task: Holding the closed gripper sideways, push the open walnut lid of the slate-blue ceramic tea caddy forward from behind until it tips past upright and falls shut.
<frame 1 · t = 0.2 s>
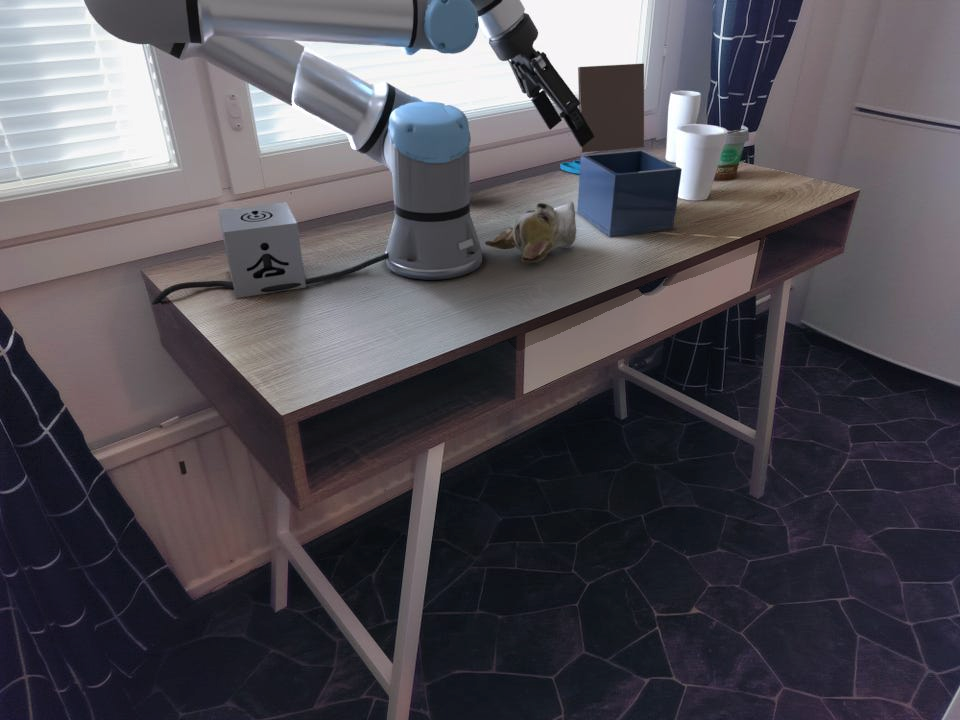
hand: (570, 132, 125), 15 cm above the table, tool tilted 35°, fingers open, 13 cm apart
caddy: (623, 220, 131), on the table
icon cube: (267, 280, 108), on the table
caddy lid: (611, 108, 128), point 18 cm above the table, hinge at 103.0°
foam cup: (691, 196, 144), on the table
food container: (721, 178, 154), on the table
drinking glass: (676, 161, 166), on the table
scissors: (598, 176, 155), on the table
ceramic sculpture: (537, 254, 117), on the table
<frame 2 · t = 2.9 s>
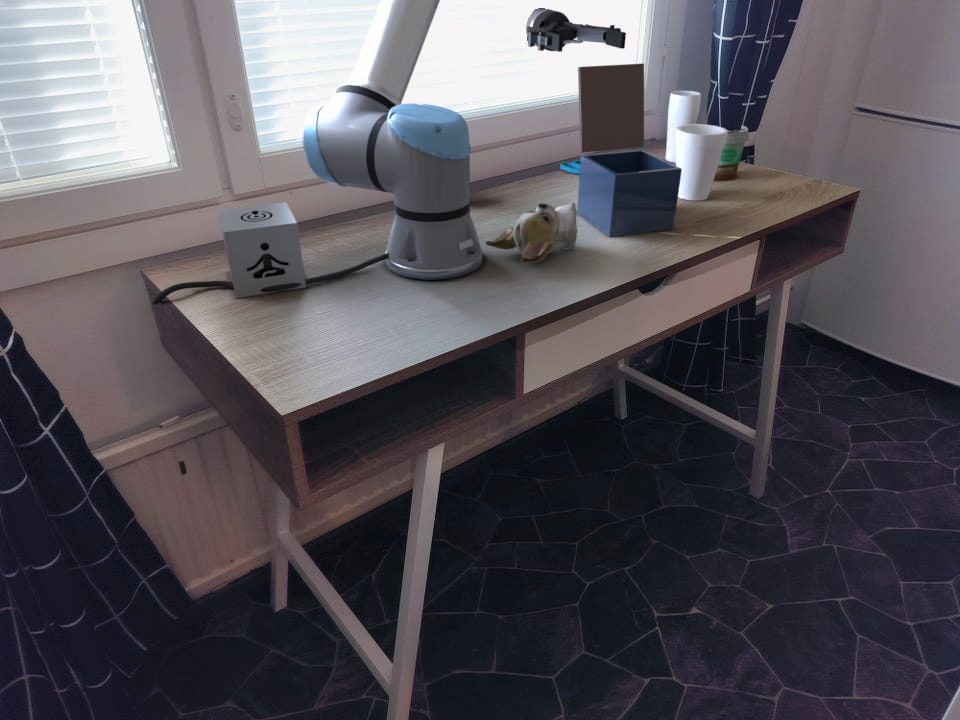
hand: (592, 42, 131), 28 cm above the table, tool horizontal, fingers open, 12 cm apart
nothing on the table moved.
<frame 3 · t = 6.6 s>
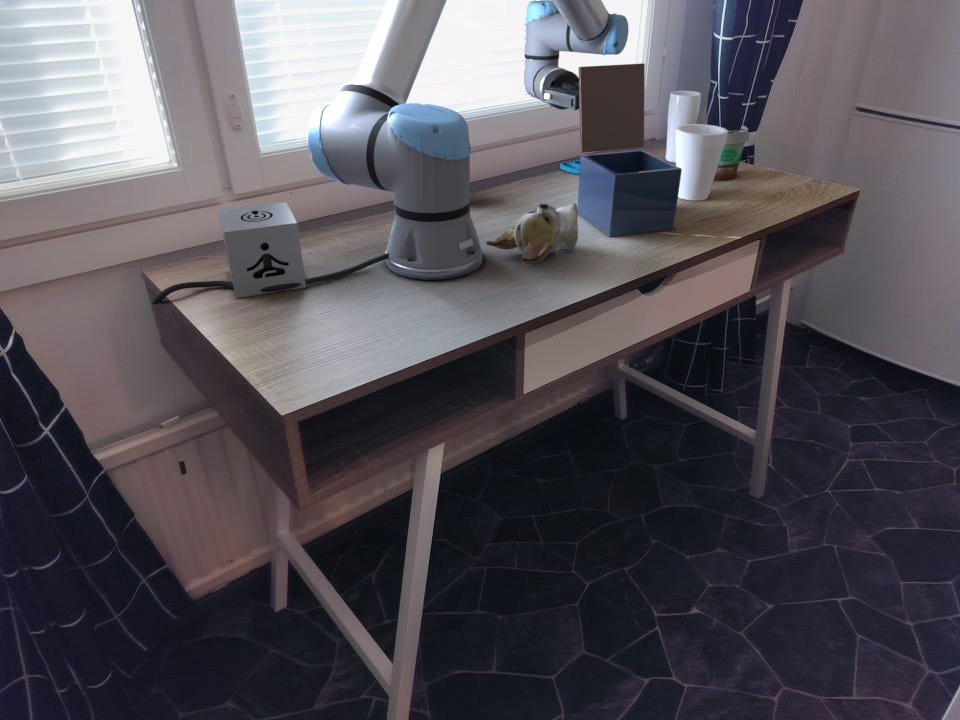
hand: (609, 109, 129), 18 cm above the table, tool horizontal, fingers closed
caddy lid: (612, 108, 128), point 18 cm above the table, hinge at 102.2°, touching gripper
everything else where it was.
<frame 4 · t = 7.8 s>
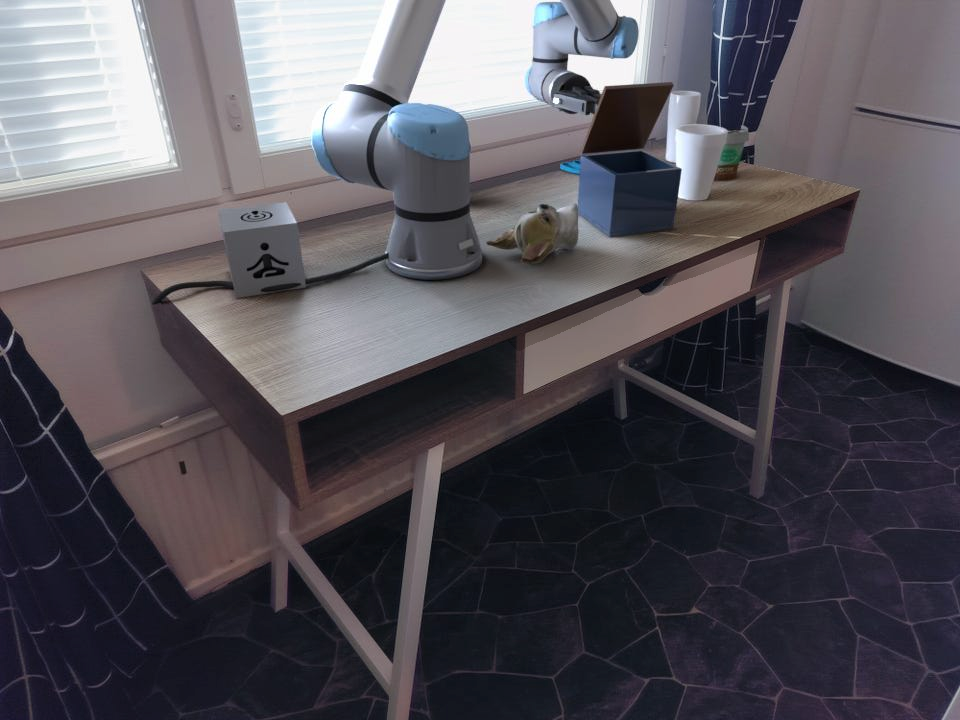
hand: (622, 114, 125), 18 cm above the table, tool horizontal, fingers closed
caddy lid: (625, 119, 124), point 17 cm above the table, hinge at 58.9°
everything else where it was.
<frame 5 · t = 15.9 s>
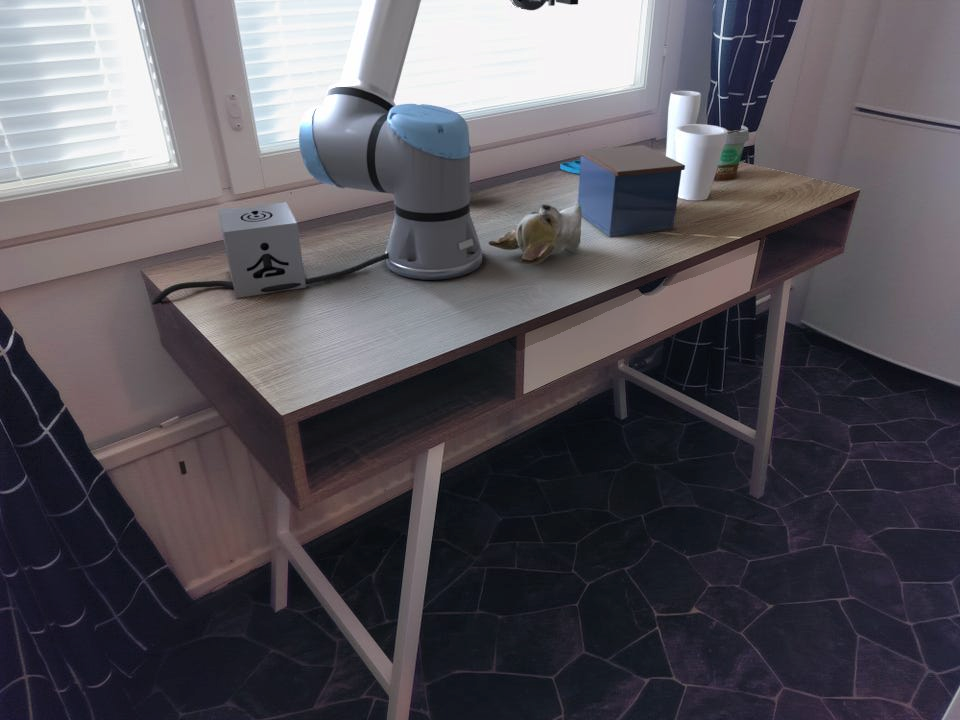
caddy lid: (631, 159, 125), point 11 cm above the table, hinge at -0.2°
at the end: caddy lid at +0° (first picture: +103°); foam cup moved 0.2 cm from its start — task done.
